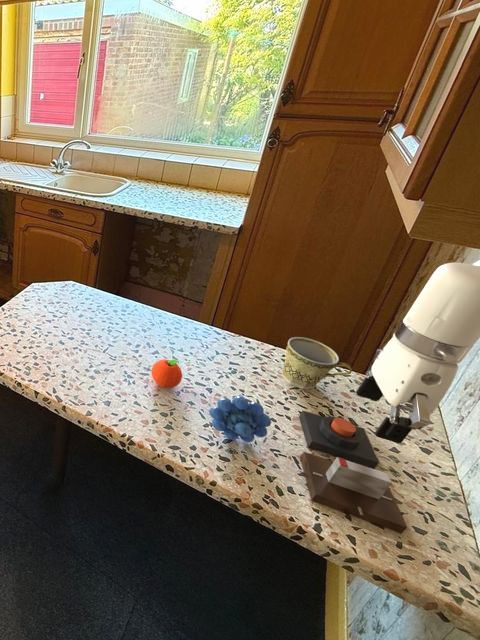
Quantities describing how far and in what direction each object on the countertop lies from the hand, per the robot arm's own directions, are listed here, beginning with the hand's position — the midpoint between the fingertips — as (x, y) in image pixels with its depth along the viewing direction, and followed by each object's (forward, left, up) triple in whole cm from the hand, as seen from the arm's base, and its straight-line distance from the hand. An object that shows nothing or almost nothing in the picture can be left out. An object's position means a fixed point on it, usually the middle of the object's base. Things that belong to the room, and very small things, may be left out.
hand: (376, 416), depth 69 cm
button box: (-4, -12, -19) cm, 23 cm away
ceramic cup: (-2, -30, -19) cm, 36 cm away
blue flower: (+16, -2, -19) cm, 25 cm away
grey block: (-3, +1, -17) cm, 17 cm away
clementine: (+30, -14, -19) cm, 39 cm away
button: (-4, -12, -15) cm, 20 cm away
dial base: (-3, +1, -19) cm, 19 cm away
